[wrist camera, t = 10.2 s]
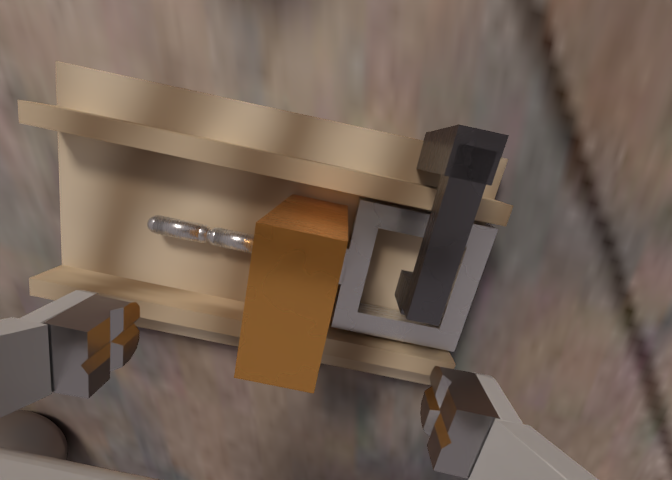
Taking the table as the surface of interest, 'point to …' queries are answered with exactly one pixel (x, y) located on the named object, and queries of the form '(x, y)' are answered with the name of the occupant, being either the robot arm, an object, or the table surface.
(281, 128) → the guide board
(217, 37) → the table surface
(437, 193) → the keeper hook
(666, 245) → the table surface
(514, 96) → the table surface
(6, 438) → the plastic bottle
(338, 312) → the chain end link
